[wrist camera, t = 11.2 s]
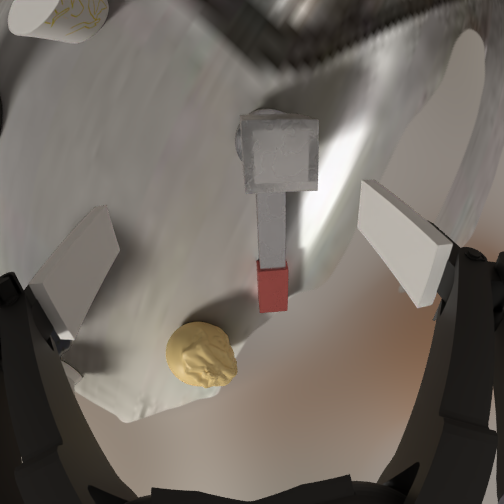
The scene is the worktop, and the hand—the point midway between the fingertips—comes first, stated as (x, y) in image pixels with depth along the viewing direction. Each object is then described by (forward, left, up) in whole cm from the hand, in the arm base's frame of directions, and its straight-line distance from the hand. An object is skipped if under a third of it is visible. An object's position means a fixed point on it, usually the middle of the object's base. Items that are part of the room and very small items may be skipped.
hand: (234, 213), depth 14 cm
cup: (-28, -8, -24) cm, 38 cm away
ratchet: (+12, -1, -24) cm, 26 cm away
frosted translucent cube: (+2, +4, -21) cm, 21 cm away
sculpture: (+27, -22, -24) cm, 42 cm away
